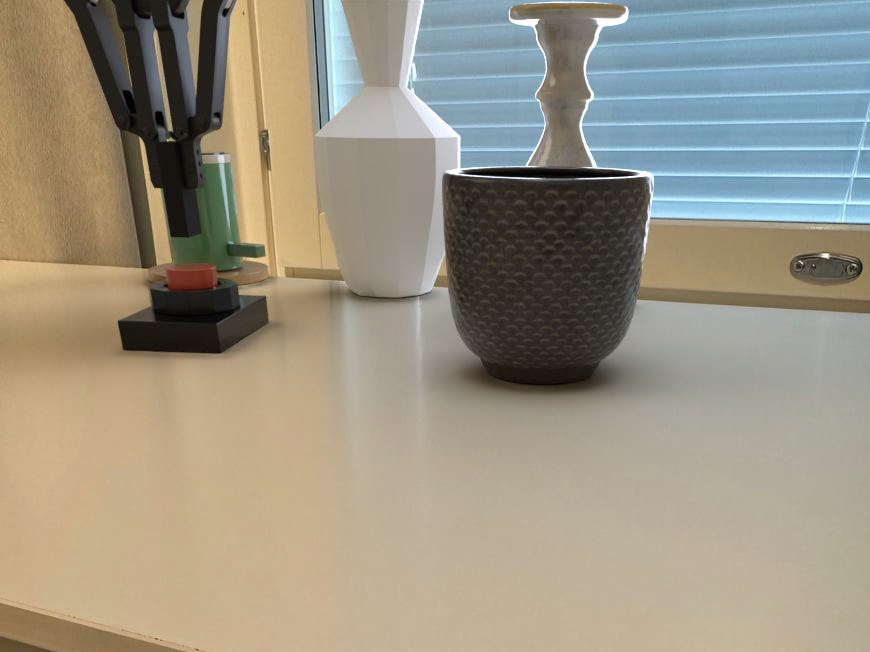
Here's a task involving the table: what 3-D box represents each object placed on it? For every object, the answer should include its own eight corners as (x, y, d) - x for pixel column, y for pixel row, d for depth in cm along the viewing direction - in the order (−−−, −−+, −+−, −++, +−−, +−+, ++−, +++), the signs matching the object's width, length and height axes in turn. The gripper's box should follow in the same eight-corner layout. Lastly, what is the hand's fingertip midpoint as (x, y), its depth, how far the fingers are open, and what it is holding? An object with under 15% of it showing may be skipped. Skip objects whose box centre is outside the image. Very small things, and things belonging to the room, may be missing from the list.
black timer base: (122, 349, 70) (111, 296, 68) (183, 318, 80) (175, 271, 78) (220, 353, 69) (212, 298, 67) (269, 321, 79) (263, 273, 77)
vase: (380, 309, 84) (365, -17, 71) (299, 289, 93) (272, -3, 80) (490, 291, 92) (493, -3, 80) (405, 275, 101) (396, 8, 89)
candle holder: (476, 300, 88) (478, 7, 76) (553, 288, 94) (565, 15, 82) (556, 318, 81) (572, -3, 69) (633, 303, 87) (659, 7, 75)
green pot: (157, 268, 97) (137, 152, 91) (205, 259, 103) (189, 149, 97) (239, 276, 93) (224, 155, 87) (284, 266, 99) (273, 152, 93)
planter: (420, 356, 68) (414, 167, 62) (582, 343, 73) (593, 164, 66) (485, 405, 57) (487, 180, 50) (672, 386, 61) (697, 176, 55)
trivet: (128, 285, 94) (126, 275, 94) (177, 267, 105) (176, 258, 105) (246, 289, 93) (245, 279, 92) (284, 269, 104) (283, 260, 104)
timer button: (160, 293, 71) (156, 269, 70) (180, 284, 74) (176, 262, 73) (208, 294, 71) (204, 271, 70) (226, 286, 74) (223, 263, 73)
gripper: (241, -145, 61) (280, 231, 73) (61, -140, 62) (129, 228, 74) (199, -175, 54) (250, 242, 67) (0, -169, 56) (85, 239, 68)
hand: (186, 234), depth 70 cm, fingers closed
